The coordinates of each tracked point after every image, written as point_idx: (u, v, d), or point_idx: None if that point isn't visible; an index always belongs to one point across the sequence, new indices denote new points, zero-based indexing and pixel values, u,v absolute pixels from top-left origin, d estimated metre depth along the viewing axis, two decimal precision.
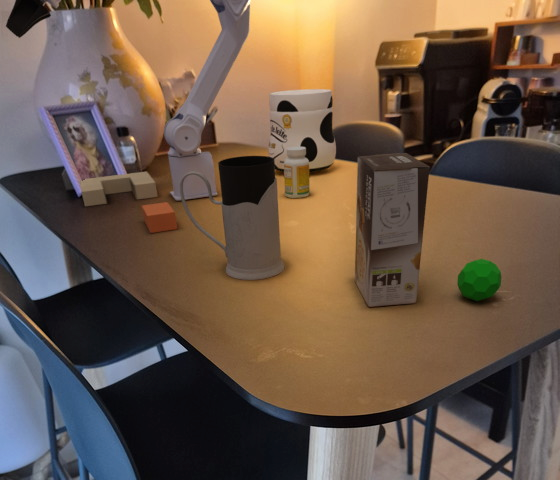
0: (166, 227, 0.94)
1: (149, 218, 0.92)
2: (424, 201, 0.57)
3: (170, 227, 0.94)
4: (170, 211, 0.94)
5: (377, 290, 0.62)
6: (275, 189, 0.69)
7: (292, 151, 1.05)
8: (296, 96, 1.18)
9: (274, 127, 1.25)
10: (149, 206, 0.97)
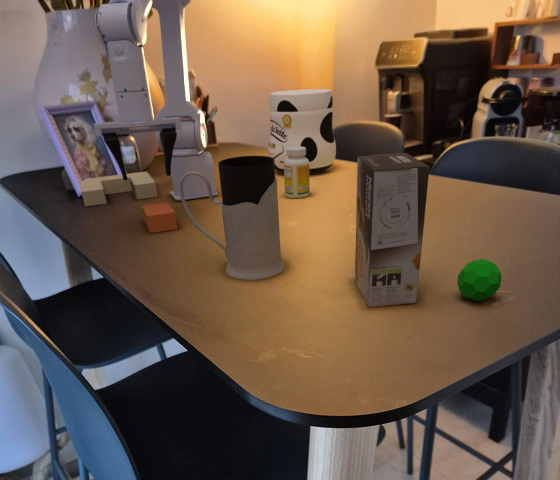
0: (166, 227, 0.94)
1: (149, 218, 0.92)
2: (424, 201, 0.57)
3: (170, 227, 0.94)
4: (170, 211, 0.94)
5: (377, 290, 0.62)
6: (275, 189, 0.69)
7: (292, 151, 1.05)
8: (296, 96, 1.18)
9: (274, 127, 1.25)
10: (149, 206, 0.97)
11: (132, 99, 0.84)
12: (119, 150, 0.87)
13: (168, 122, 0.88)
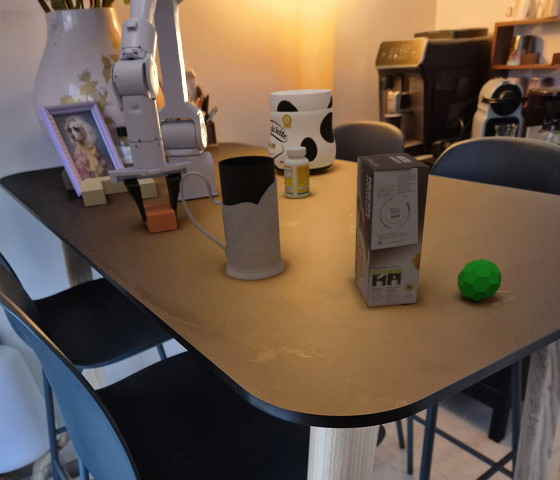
0: (166, 227, 0.94)
1: (149, 218, 0.92)
2: (424, 201, 0.57)
3: (170, 227, 0.94)
4: (170, 211, 0.94)
5: (377, 290, 0.62)
6: (275, 189, 0.69)
7: (292, 151, 1.05)
8: (296, 96, 1.18)
9: (274, 127, 1.25)
10: (149, 206, 0.97)
11: (146, 149, 0.88)
12: (140, 195, 0.92)
13: (180, 167, 0.92)
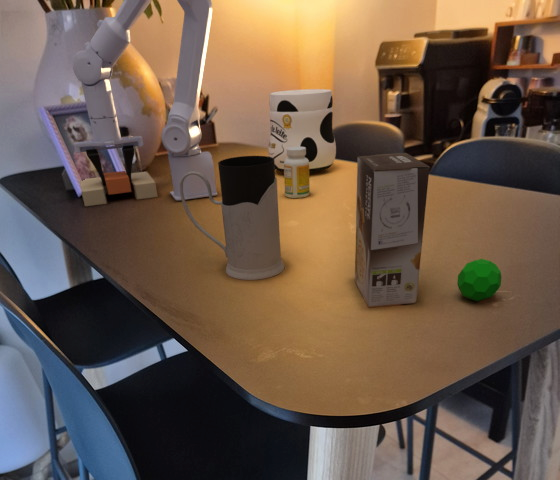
0: (122, 190, 1.14)
1: (107, 182, 1.13)
2: (424, 201, 0.57)
3: (125, 190, 1.15)
4: (125, 176, 1.14)
5: (377, 290, 0.62)
6: (275, 189, 0.69)
7: (292, 151, 1.05)
8: (296, 96, 1.18)
9: (274, 127, 1.25)
10: (109, 173, 1.18)
11: (103, 124, 1.08)
12: (99, 163, 1.12)
13: (132, 140, 1.13)
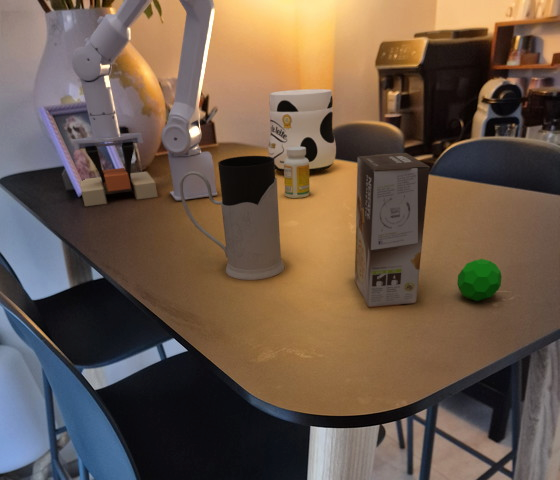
0: (121, 187, 1.14)
1: (106, 179, 1.12)
2: (424, 201, 0.57)
3: (124, 187, 1.14)
4: (124, 173, 1.14)
5: (377, 290, 0.62)
6: (275, 189, 0.69)
7: (292, 151, 1.05)
8: (296, 96, 1.18)
9: (274, 127, 1.25)
10: (108, 170, 1.17)
11: (102, 121, 1.08)
12: (98, 159, 1.12)
13: (131, 137, 1.12)
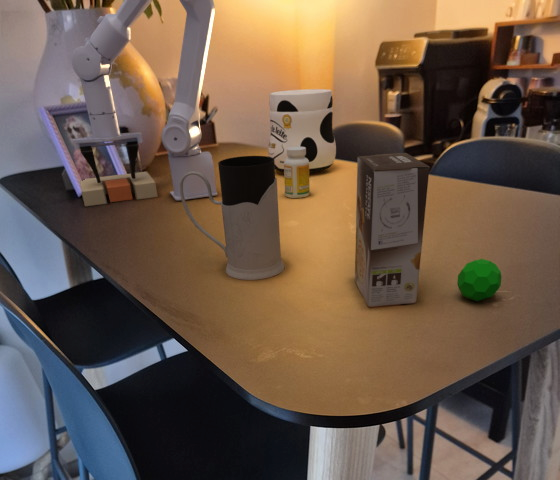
0: (123, 197, 1.15)
1: (109, 190, 1.14)
2: (424, 201, 0.57)
3: (126, 197, 1.16)
4: (126, 184, 1.15)
5: (377, 290, 0.62)
6: (275, 189, 0.69)
7: (292, 151, 1.05)
8: (296, 96, 1.18)
9: (274, 127, 1.25)
10: (110, 181, 1.19)
11: (102, 120, 1.08)
12: (93, 159, 1.11)
13: (131, 137, 1.12)
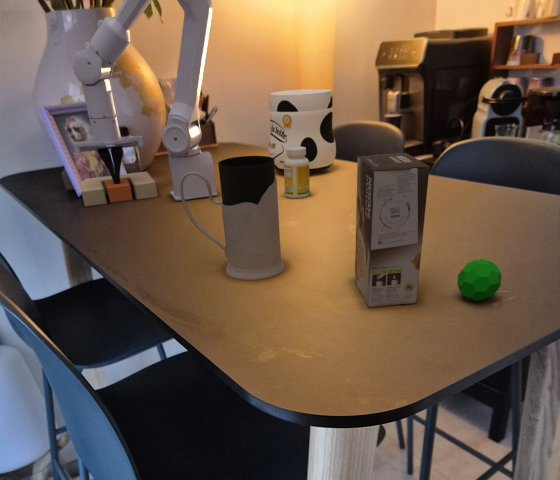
0: (123, 198, 1.15)
1: (109, 190, 1.14)
2: (424, 201, 0.57)
3: (126, 198, 1.16)
4: (126, 185, 1.15)
5: (377, 290, 0.62)
6: (275, 189, 0.69)
7: (292, 151, 1.05)
8: (296, 96, 1.18)
9: (274, 127, 1.25)
10: (110, 181, 1.19)
11: (103, 124, 1.08)
12: (110, 161, 1.13)
13: (132, 140, 1.13)
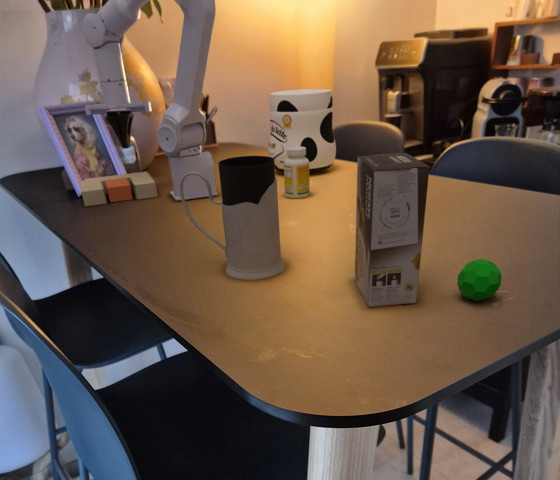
0: (123, 197, 1.15)
1: (109, 190, 1.14)
2: (424, 201, 0.57)
3: (126, 197, 1.16)
4: (126, 184, 1.15)
5: (377, 290, 0.62)
6: (275, 189, 0.69)
7: (292, 151, 1.05)
8: (296, 96, 1.18)
9: (274, 127, 1.25)
10: (110, 181, 1.19)
11: (108, 87, 1.11)
12: (117, 125, 1.15)
13: (138, 105, 1.14)
